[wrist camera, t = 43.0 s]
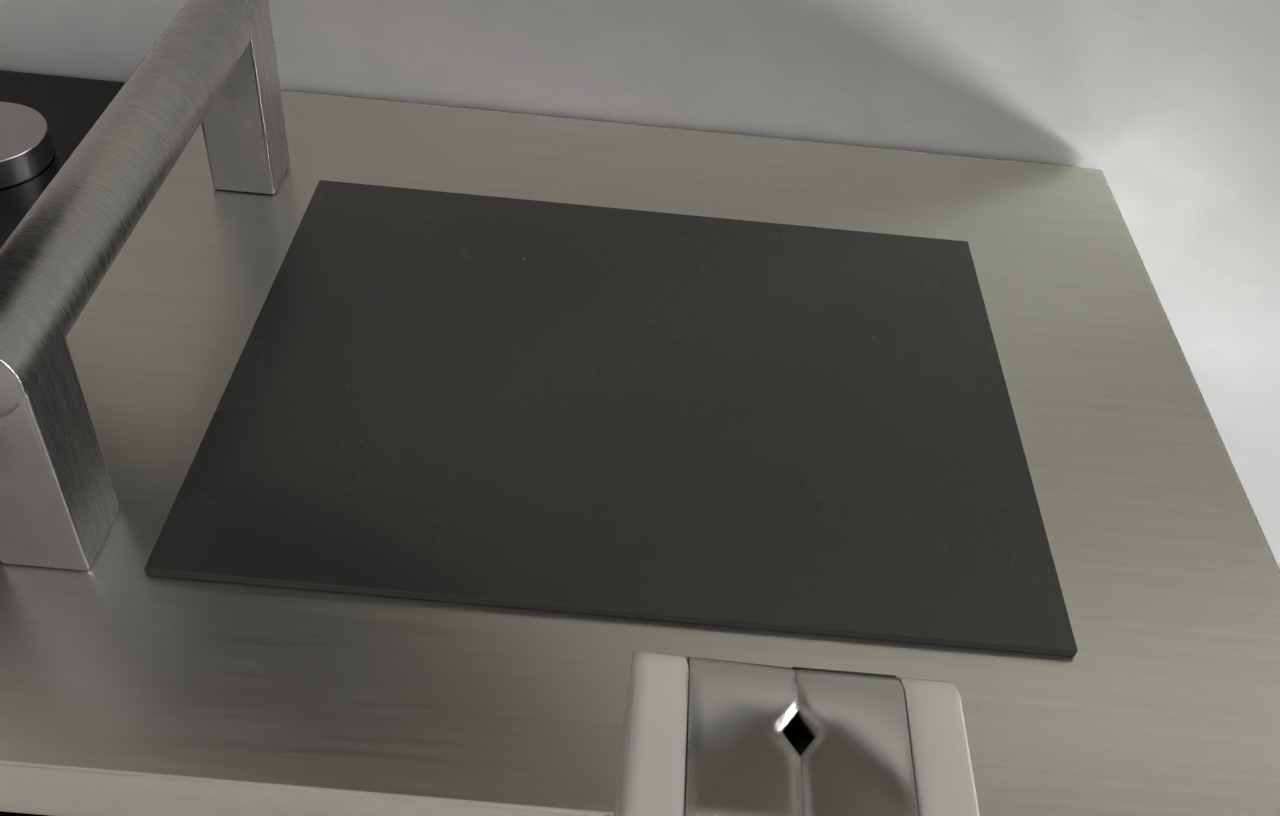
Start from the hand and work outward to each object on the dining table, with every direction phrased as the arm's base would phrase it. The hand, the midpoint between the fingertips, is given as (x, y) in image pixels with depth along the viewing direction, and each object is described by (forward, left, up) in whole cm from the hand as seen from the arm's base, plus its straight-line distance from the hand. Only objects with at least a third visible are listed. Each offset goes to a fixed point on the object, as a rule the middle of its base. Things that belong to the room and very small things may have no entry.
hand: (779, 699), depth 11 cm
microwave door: (+5, +4, -25) cm, 26 cm away
